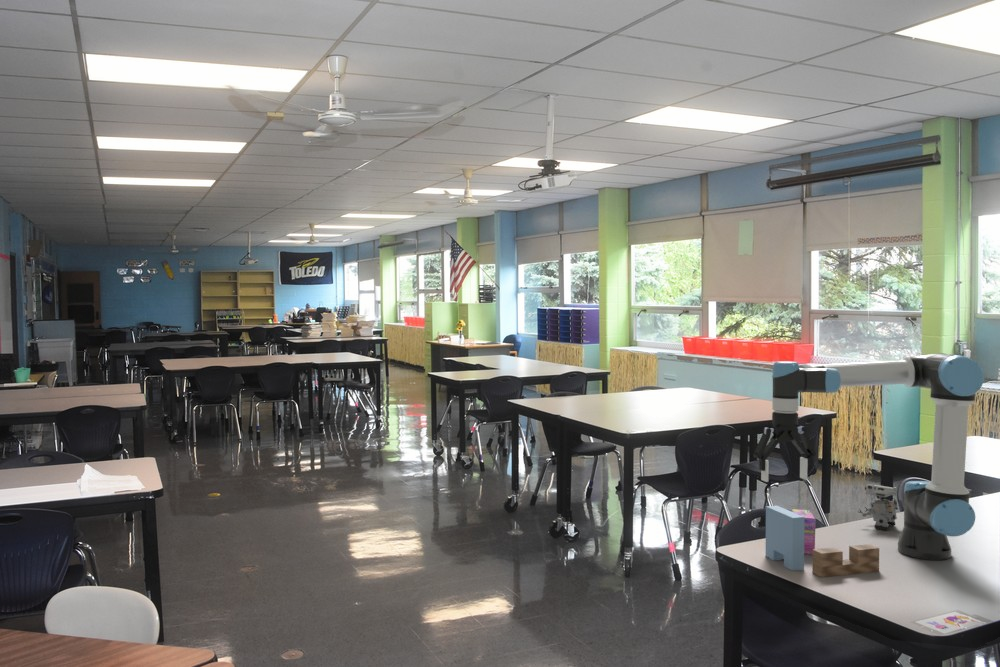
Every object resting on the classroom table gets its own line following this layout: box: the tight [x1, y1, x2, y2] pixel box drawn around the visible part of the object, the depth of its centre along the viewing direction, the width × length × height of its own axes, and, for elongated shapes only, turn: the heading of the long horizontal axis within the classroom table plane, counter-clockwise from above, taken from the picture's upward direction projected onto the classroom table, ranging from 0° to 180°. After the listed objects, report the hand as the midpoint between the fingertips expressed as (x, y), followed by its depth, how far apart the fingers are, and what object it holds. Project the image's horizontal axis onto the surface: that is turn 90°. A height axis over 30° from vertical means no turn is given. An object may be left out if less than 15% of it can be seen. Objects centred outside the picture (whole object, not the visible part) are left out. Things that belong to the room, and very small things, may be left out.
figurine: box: [857, 483, 899, 532], centre depth 276 cm, size 9×12×15 cm
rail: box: [811, 543, 880, 578], centre depth 228 cm, size 20×4×7 cm, turn 104°
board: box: [765, 505, 805, 571], centre depth 237 cm, size 14×4×16 cm, turn 14°
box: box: [791, 508, 817, 555], centre depth 250 cm, size 10×6×12 cm, turn 168°
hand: (784, 479), depth 236 cm, fingers open, 13 cm apart
